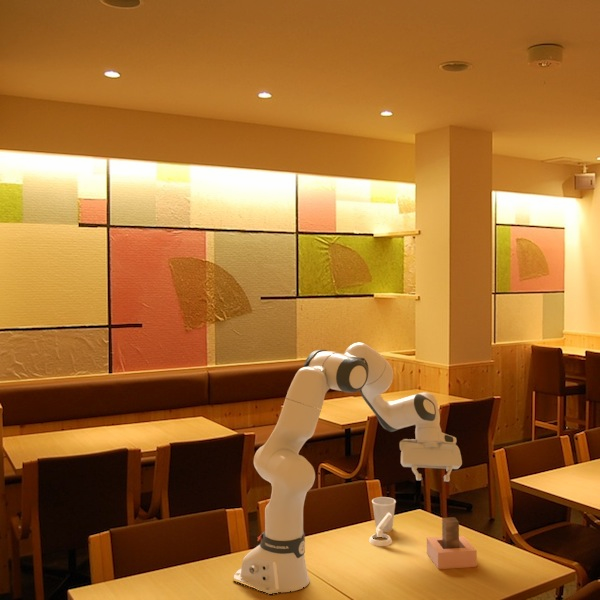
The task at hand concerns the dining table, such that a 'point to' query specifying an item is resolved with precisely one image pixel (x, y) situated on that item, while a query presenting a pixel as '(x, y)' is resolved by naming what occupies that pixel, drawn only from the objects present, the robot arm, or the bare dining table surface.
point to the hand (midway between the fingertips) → (433, 480)
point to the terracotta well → (451, 554)
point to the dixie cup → (383, 511)
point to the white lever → (381, 533)
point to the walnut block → (450, 533)
